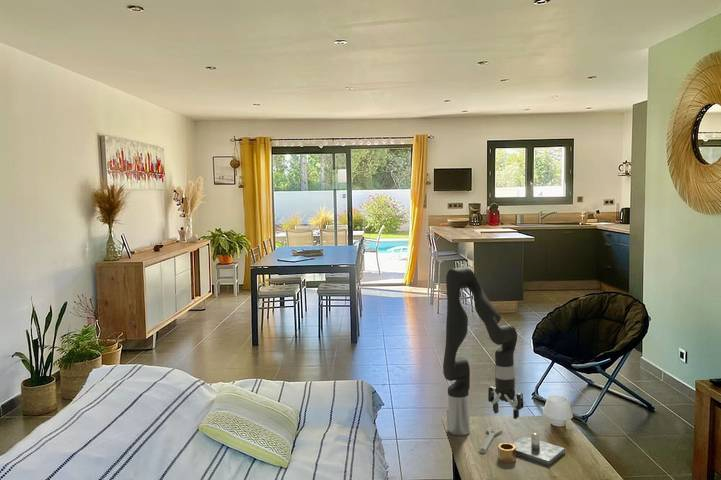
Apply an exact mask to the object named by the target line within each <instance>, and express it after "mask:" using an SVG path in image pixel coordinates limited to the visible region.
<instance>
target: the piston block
mask: <svg viewBox="0 0 721 480" xmlns="http://www.w3.org/2000/svg"><path fill="white" fill-rule="evenodd" d="M511 444H513V445H514V446H515V447H516V457H520V458H523V459H527V460H530V461H533V462H535V463H539V464H542V465H544V466H548V467H550V466H551V465H552V464H553V463H554V462H556V461H557V460H558V459H559V458H560V457H562V456H563V455H564V454H565V453H566V450H565V447H562V446H560V445H556V444H553V443H549V442H545V441H542V440H540V434H538V433H537V432H534V433H532V434H531V435H530V437H529V436H526V435H522V436H521V437H519V438H517V440H515V441H514V442H512V443H511Z"/></svg>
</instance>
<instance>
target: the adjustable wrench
mask: <svg viewBox="0 0 721 480" xmlns="http://www.w3.org/2000/svg"><path fill="white" fill-rule="evenodd" d="M485 433H487V434H488V435H487V437H486V439H485V440H484V441H483V443H482V444H481V446H480V448H479V451H478V452H479V453H480V454H486V453H487V451H488V450H489V447H490V446H491V444H492V443H493V441H494V438H495V437H497V436H499V435H501V434H503V428H502V427H501V426H497V429H494V428H493V427H492V426H489V427H487V429H485Z"/></svg>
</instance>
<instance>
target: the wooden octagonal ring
mask: <svg viewBox="0 0 721 480" xmlns="http://www.w3.org/2000/svg"><path fill="white" fill-rule="evenodd" d="M497 457H498V460H499V461H500V462H502V463H506V464H512V463H515V461H516V460H517V455H516V447H515V446H514V445H513V444H512V443H509V442H500V443H499V444H498V445H497Z"/></svg>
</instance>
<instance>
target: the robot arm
mask: <svg viewBox="0 0 721 480" xmlns="http://www.w3.org/2000/svg"><path fill="white" fill-rule="evenodd" d="M445 283H446V284H445V285H446V287H445V288H446V300H447V301H446V324H445V325H446V327H445V348H444V355H443V363H442V373H443V376H444V379H446V380H447V381H448V382H449V381H450V382H451V381H454V383H452V384H450V385H449V386H448V387H447V403H448V404H447V406H448V408H447V410H446V431H447V432H449V433H450V434H452V435H454V436H466V435H469V434H470V432H471V427H470V424H471V423H470V422H471V420H470V419H471V418H470V396H469V394H470V392H469V390H470V387H471V386H470V385H471V384H470V383H471V381H470V380H471V379H470V378H471V377H470V376H471V368H470V364H469V361H468V359H466V358H465V357H457V352H458V351H459V348H460V347H461V345H462V343H463V342H464V340H465V339H466V336H467V335H468V327H469V326H468V325H469V319H468V318H469V317H468V315H467V313H466V311H465V309H464V307H463V306H462V303H461V300H460V290H463V289H468V291H470V292H471V294H472V295H473V301H474V302H473V303H474V309H475V312H476V314H477V316H478V317H479V318H480V319H481V321H482V322H483V324H484V326H485V328H486V331H487V334H488V337H489V339H490V340H491V342H492V343H494V344H496V345H497V346H500V347H499V348H498V349H496V350H495V352H494V361H495V362H494V363H495V364H494V365H495V366H494V382H495V385H491V386H489V387H488V395H487V398H488V399H487V400H488V402H490V403H491V404H492V410H493V413H494V414H498V413H499V412H500V410H499V401H501V402H506V403H509V405H510V406H511V407H512V408H513V409H512V410H513V411H512V412H513V414H512V415H513V417H512V418H513V419H514V420H517V419H518V418H519V417H520V410H522V409H523V408H524V404H525V403H524V397H523V396H524V395H523V393H522V392H516V390H515V389H516V372H515V364H514V361H515V359H514V355H515V350H516V346H517V342H518V332H517V330H516V328H515V327H514V326H513V324H504V325H499V323H500V322H501V318H502V317H501V315H500V313H499V312H498V311H497V309H496V307H495V306H493V304H492V303H491V301H490V300H489V298H488V296H487V295H486V293H485V292H484V289H483V287H482V285H481V283H480V282H479V280H478V278H477V276H476V274H475V273H474V271H473V270H472V269H471V267H468V266H461V267H459V266H458V267H454V268H450V269H448V271H447V273H446V278H445ZM494 386H495V387H494ZM495 394H496V396H495Z"/></svg>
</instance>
